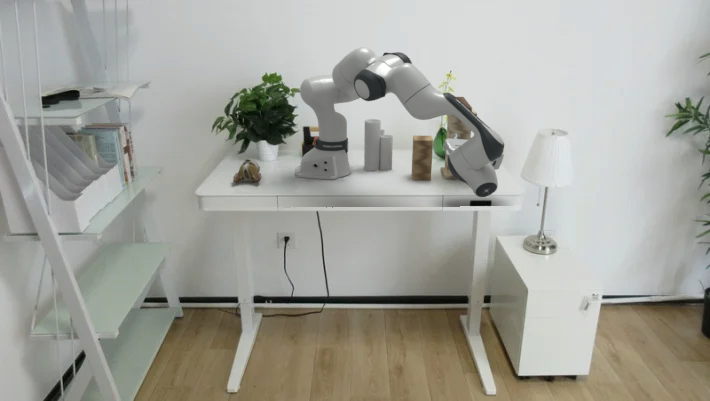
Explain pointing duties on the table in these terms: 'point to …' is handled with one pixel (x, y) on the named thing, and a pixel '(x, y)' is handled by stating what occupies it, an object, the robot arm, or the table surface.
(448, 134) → the birch stand
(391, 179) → the table surface
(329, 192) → the table surface
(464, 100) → the walnut rail
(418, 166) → the oak post
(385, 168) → the vase
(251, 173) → the ceramic sculpture
